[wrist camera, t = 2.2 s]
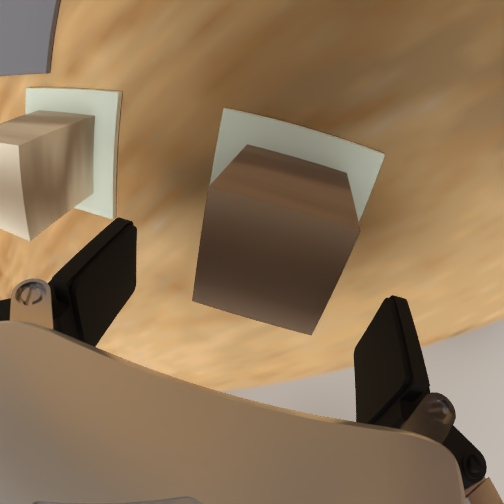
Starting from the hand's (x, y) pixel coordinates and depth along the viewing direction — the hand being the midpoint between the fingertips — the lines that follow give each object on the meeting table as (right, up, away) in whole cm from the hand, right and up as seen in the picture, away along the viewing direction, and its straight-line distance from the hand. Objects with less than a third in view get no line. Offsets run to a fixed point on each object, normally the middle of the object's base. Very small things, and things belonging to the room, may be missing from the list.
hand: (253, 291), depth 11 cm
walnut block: (+2, +4, +5) cm, 7 cm away
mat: (-16, +18, +1) cm, 24 cm away
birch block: (-12, +8, +6) cm, 15 cm away
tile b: (-12, +8, +6) cm, 15 cm away
